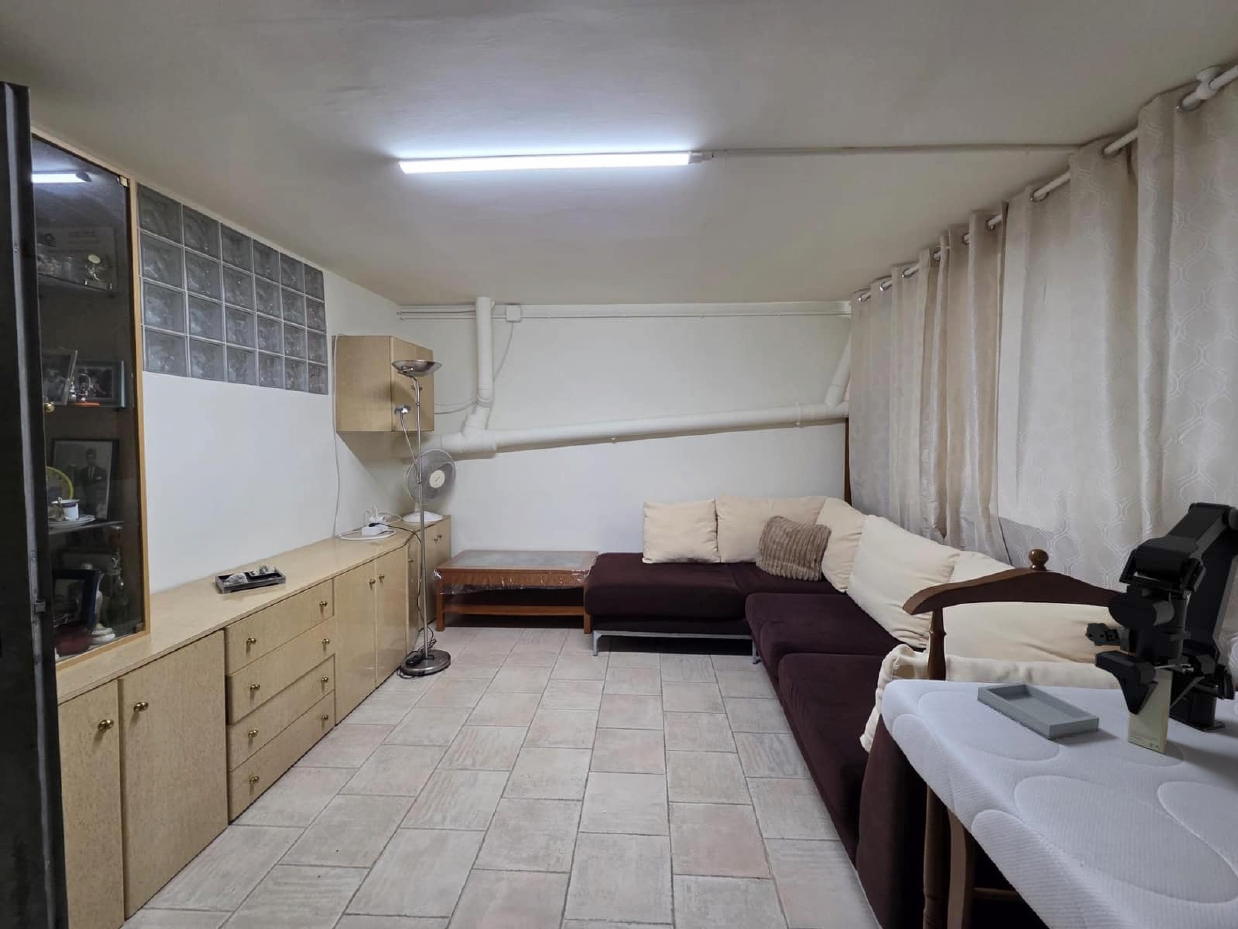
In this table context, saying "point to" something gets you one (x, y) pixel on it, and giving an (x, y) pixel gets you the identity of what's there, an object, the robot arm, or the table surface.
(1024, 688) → the sorting tray
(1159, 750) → the skincare box
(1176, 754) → the table surface
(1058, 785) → the table surface
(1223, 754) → the table surface
